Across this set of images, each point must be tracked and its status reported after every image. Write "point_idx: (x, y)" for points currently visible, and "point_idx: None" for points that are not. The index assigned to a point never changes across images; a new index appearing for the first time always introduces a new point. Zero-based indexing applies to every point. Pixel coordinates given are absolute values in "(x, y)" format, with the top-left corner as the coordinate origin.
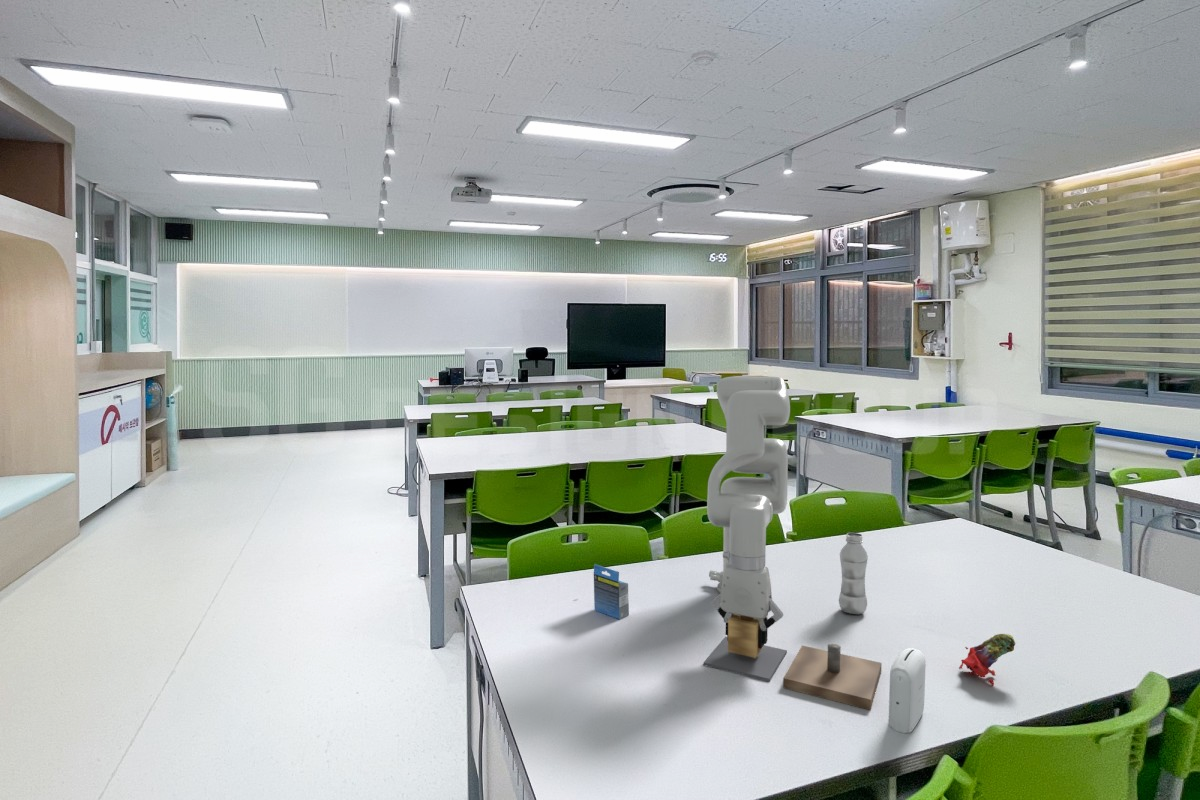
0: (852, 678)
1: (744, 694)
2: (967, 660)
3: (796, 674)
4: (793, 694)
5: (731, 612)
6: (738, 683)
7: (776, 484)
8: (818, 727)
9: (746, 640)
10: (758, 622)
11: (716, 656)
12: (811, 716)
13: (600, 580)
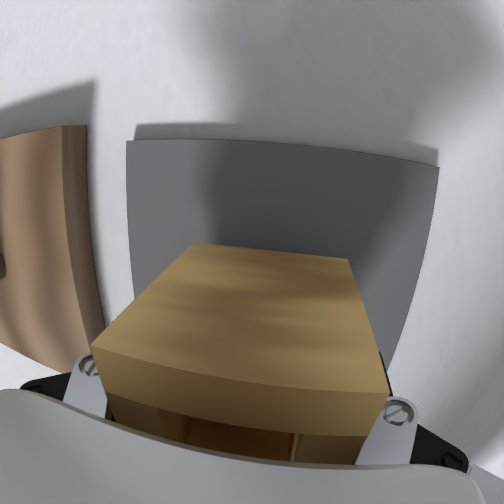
0: None
1: (200, 2)
2: None
3: (38, 181)
4: (59, 106)
5: (363, 472)
6: (244, 62)
7: None
8: (18, 11)
9: (222, 285)
10: (105, 398)
11: (395, 246)
12: (25, 36)
13: None
